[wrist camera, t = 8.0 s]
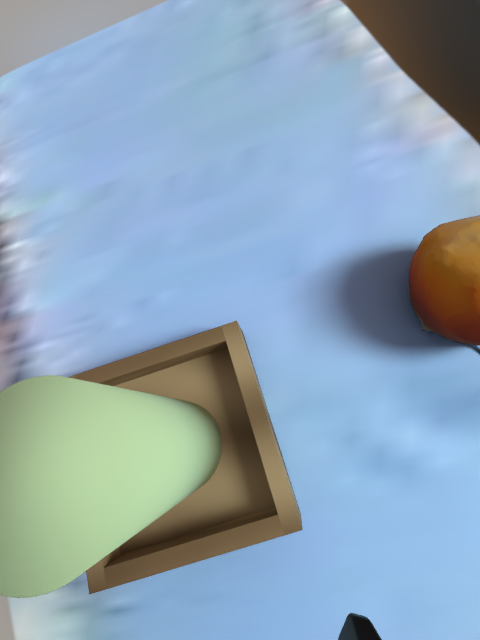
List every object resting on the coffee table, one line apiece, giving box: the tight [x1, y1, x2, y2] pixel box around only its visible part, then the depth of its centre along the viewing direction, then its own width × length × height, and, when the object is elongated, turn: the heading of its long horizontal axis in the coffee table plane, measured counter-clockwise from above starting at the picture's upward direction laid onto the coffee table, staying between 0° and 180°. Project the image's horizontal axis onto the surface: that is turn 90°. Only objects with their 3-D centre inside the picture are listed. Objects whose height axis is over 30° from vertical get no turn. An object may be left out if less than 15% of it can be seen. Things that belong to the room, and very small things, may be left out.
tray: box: [69, 321, 302, 594], centre depth 21 cm, size 12×12×3 cm
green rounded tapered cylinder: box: [0, 376, 222, 598], centre depth 16 cm, size 6×6×13 cm
